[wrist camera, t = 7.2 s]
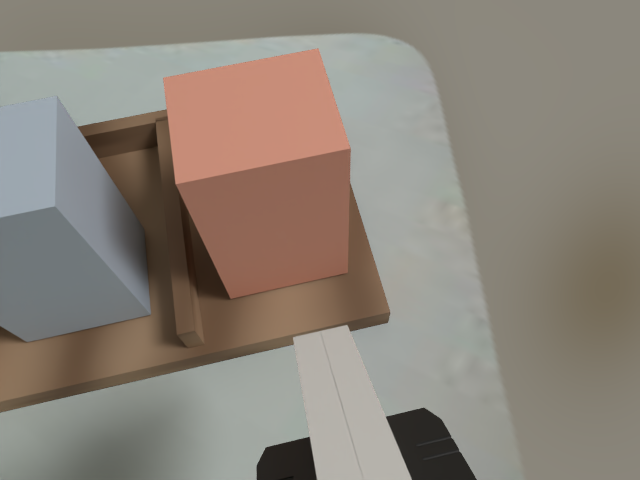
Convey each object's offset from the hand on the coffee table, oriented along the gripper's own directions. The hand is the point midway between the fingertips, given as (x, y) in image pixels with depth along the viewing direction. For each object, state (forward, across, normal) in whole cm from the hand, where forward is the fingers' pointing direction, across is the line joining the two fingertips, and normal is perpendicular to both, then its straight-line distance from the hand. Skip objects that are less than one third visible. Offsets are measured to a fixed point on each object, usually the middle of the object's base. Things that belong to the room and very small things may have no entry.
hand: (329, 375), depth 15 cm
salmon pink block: (+14, -1, 0) cm, 14 cm away
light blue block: (+14, -11, 0) cm, 18 cm away
